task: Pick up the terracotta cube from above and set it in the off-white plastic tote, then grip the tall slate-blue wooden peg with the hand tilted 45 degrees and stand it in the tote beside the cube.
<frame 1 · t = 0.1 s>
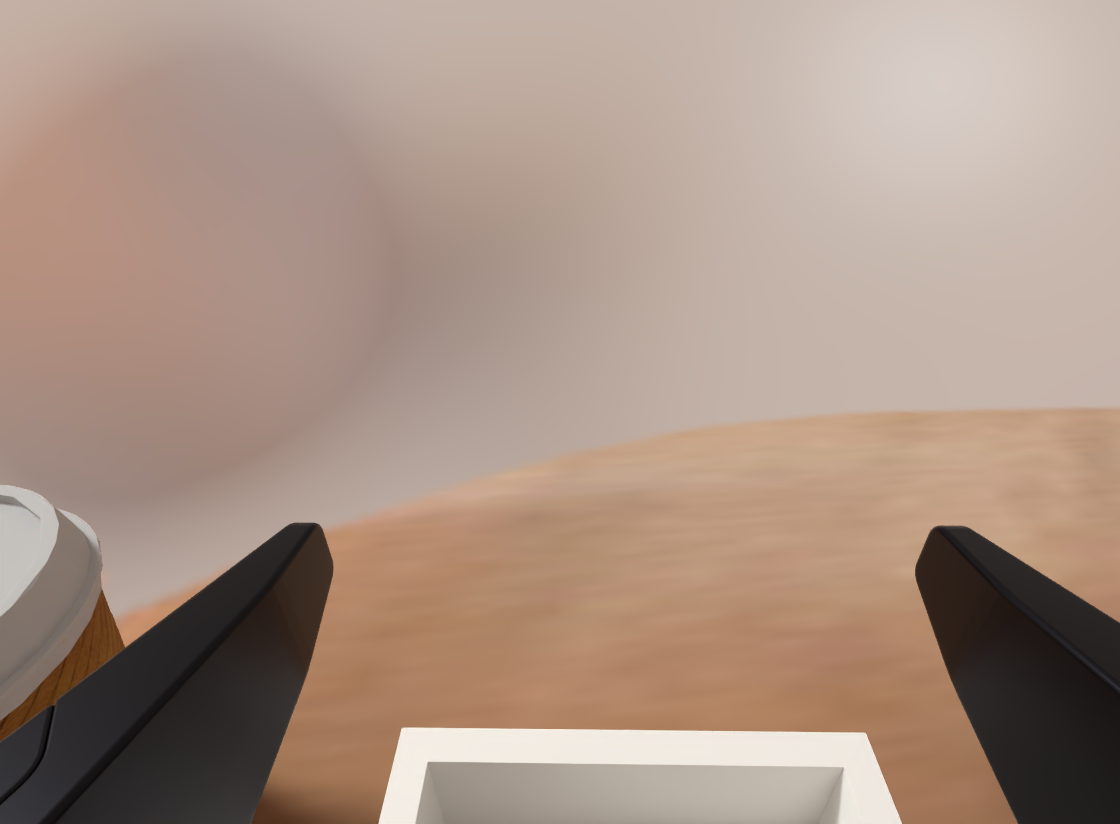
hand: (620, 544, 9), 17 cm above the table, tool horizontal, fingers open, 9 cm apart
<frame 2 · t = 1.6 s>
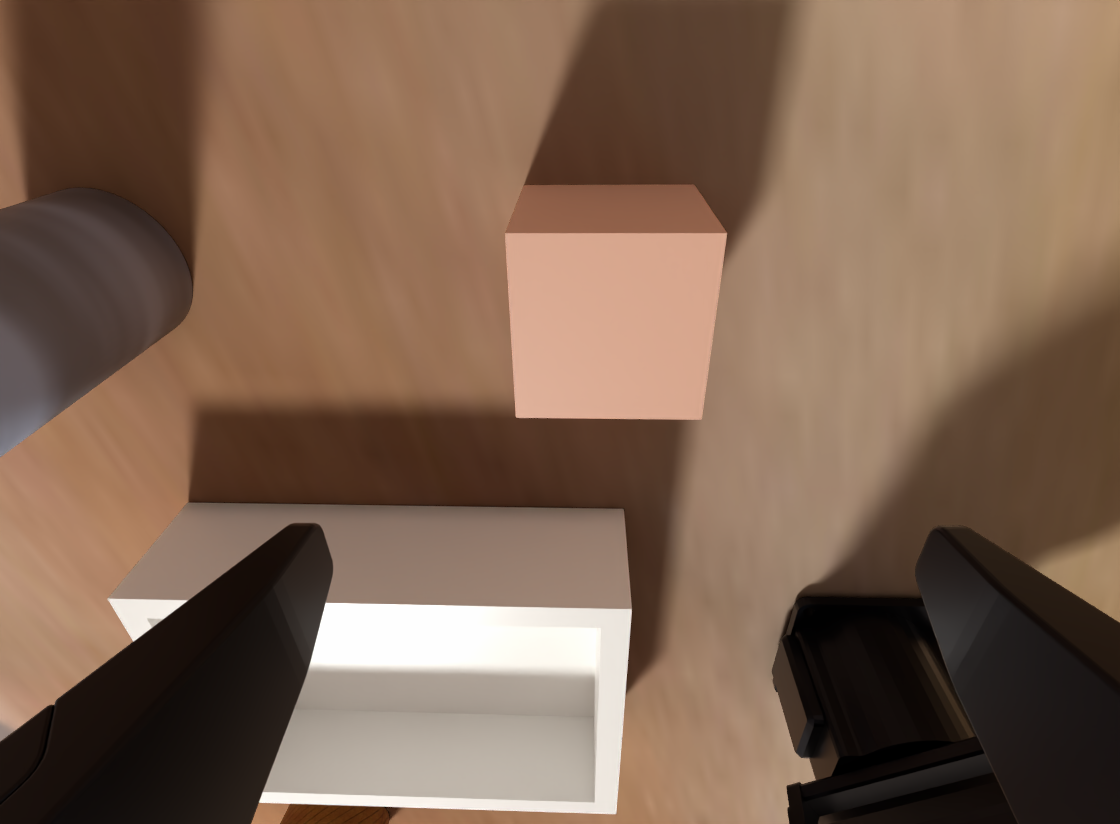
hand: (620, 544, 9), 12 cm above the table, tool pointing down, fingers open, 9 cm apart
slate peg: (113, 267, 20), on the table
tote: (425, 618, 29), on the table
disposable coffee cup: (341, 807, 39), on the table
terracotta cube: (606, 266, 19), on the table
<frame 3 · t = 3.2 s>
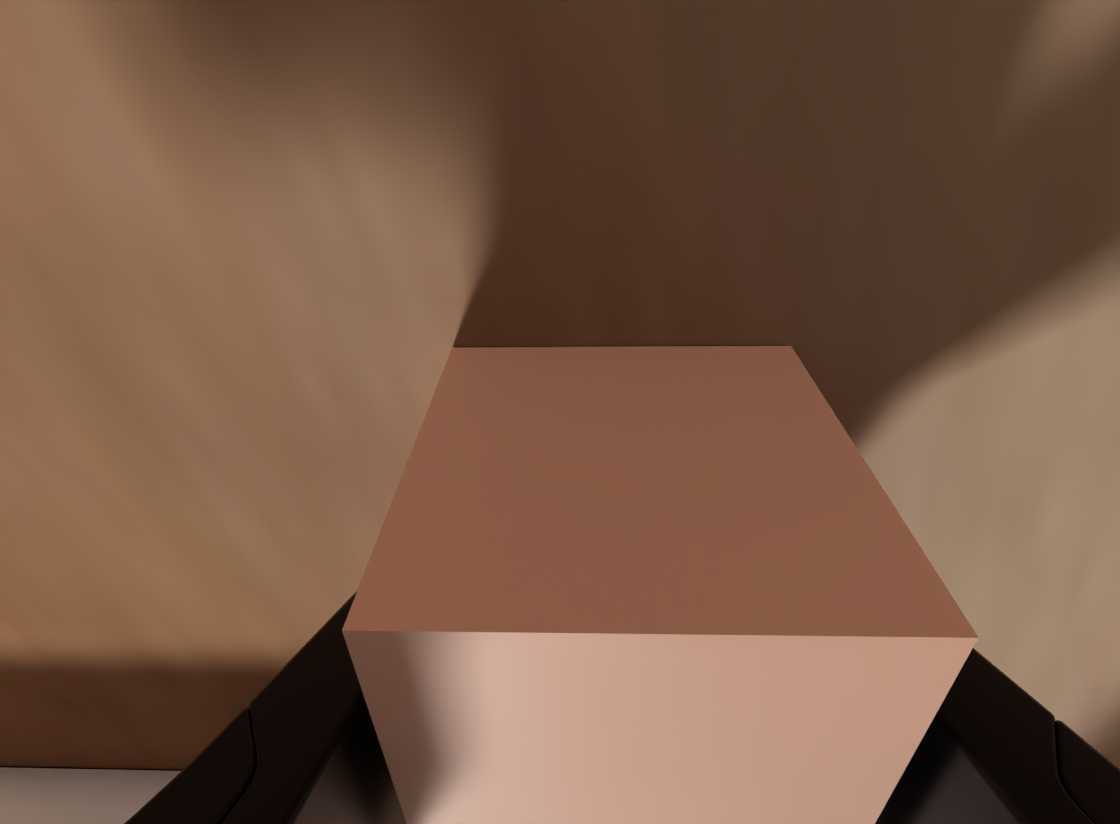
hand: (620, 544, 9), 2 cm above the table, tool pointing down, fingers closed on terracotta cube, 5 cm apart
terracotta cube: (615, 478, 10), on the table, touching gripper
when the fingers open (5 cm above the table, at t = 7.1 s): terracotta cube drops 3 cm, resting on tote.
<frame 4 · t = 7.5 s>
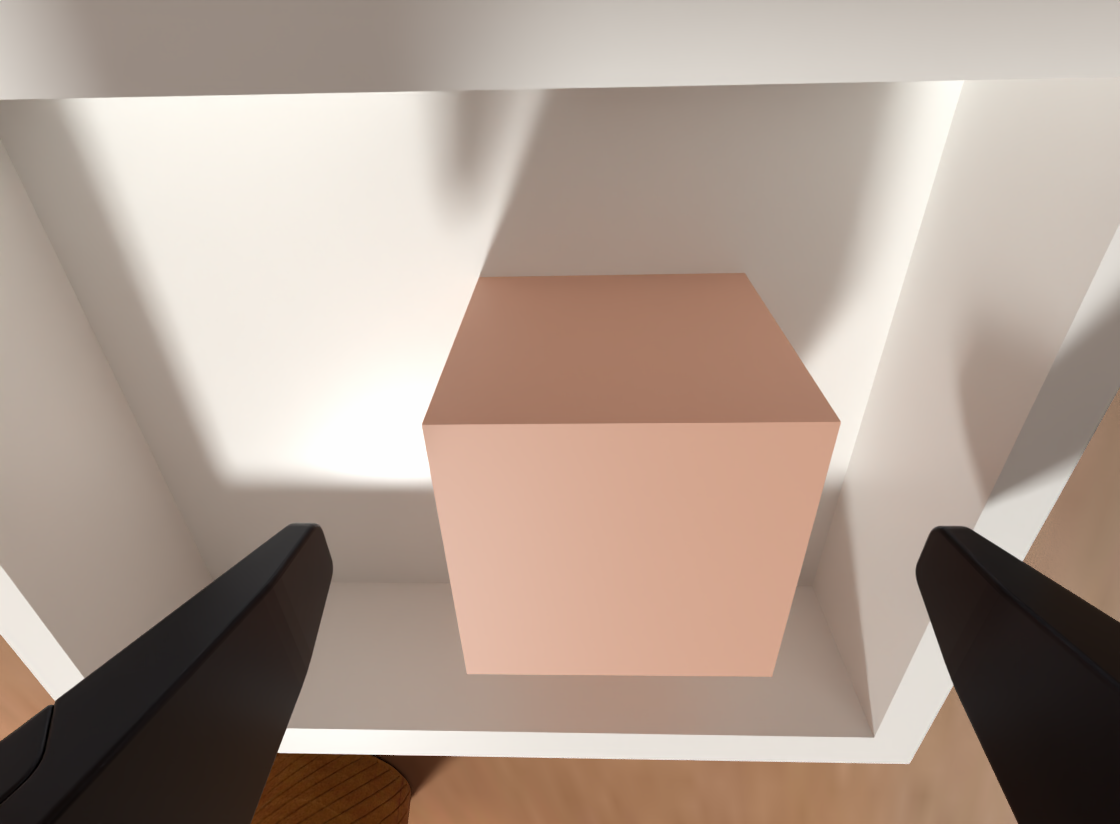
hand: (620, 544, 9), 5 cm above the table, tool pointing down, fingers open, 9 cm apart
tote: (494, 367, 14), on the table
disposable coffee cup: (335, 778, 25), on the table
terracotta cube: (608, 388, 13), point 1 cm above the table, touching tote
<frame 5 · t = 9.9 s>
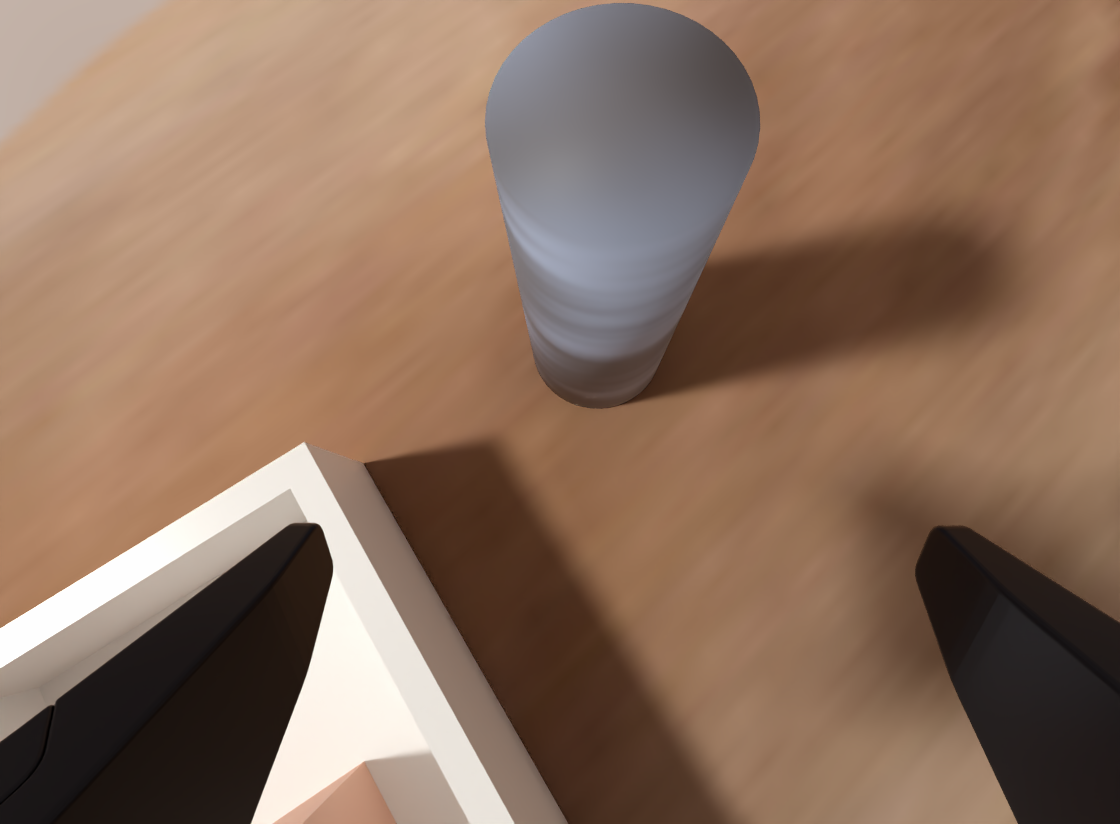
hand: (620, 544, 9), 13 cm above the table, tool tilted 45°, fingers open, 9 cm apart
slate peg: (596, 346, 24), on the table
tote: (310, 792, 21), on the table
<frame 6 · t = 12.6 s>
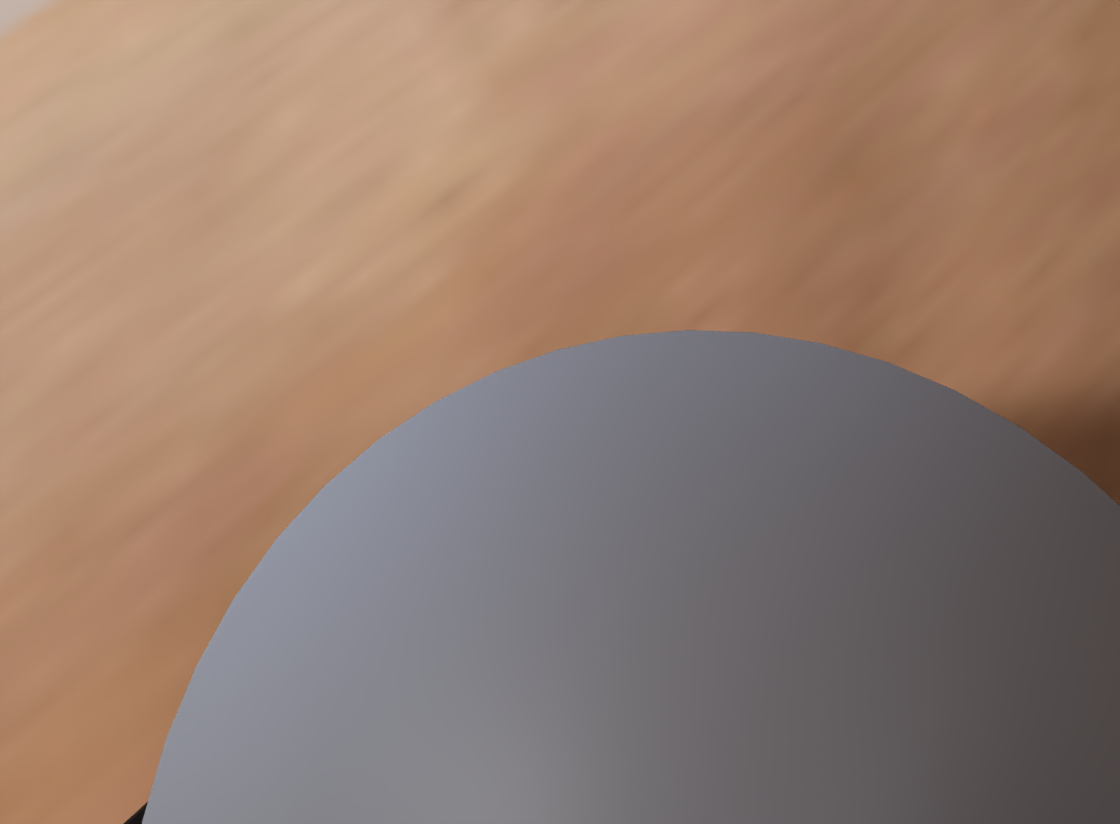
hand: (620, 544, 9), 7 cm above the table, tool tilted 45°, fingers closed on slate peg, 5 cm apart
slate peg: (603, 600, 15), on the table, touching gripper
when the fingers open (9 cm above the table, at t = 16.9 s): slate peg drops 2 cm, resting on tote.
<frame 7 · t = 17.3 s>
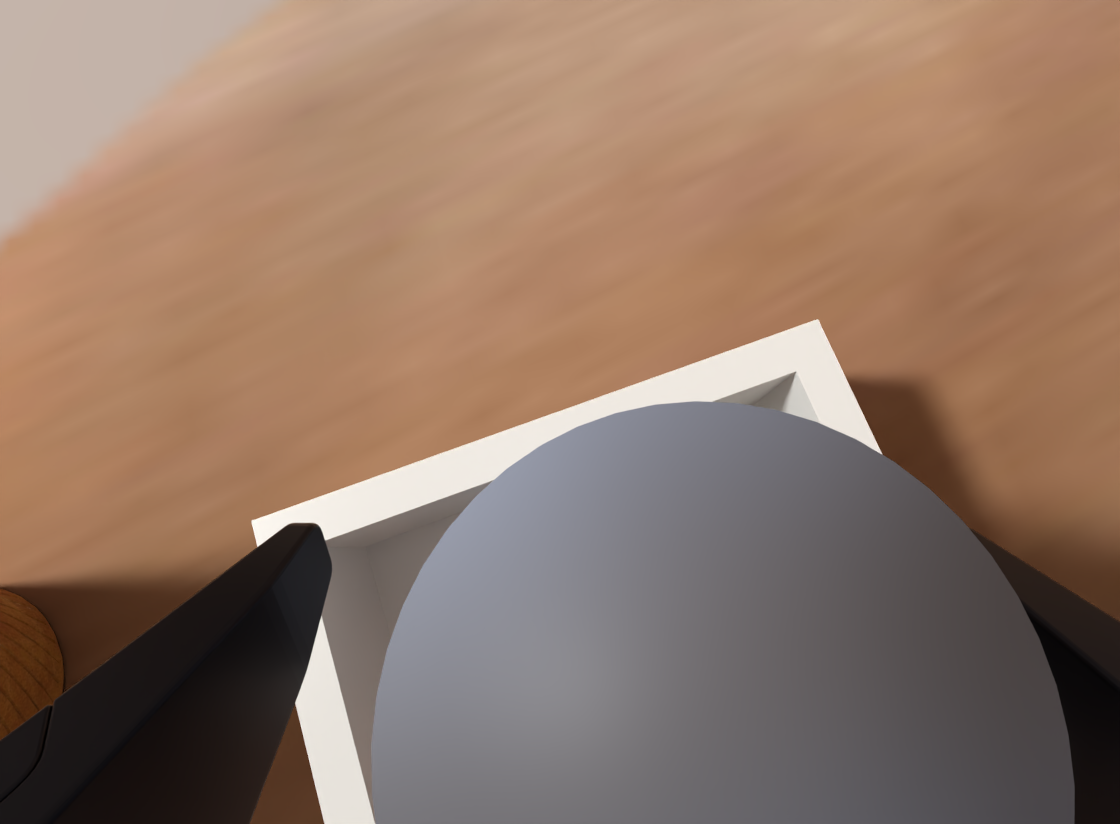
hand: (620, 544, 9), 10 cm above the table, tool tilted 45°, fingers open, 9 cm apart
slate peg: (606, 595, 17), point 1 cm above the table, touching tote
tote: (656, 745, 17), on the table
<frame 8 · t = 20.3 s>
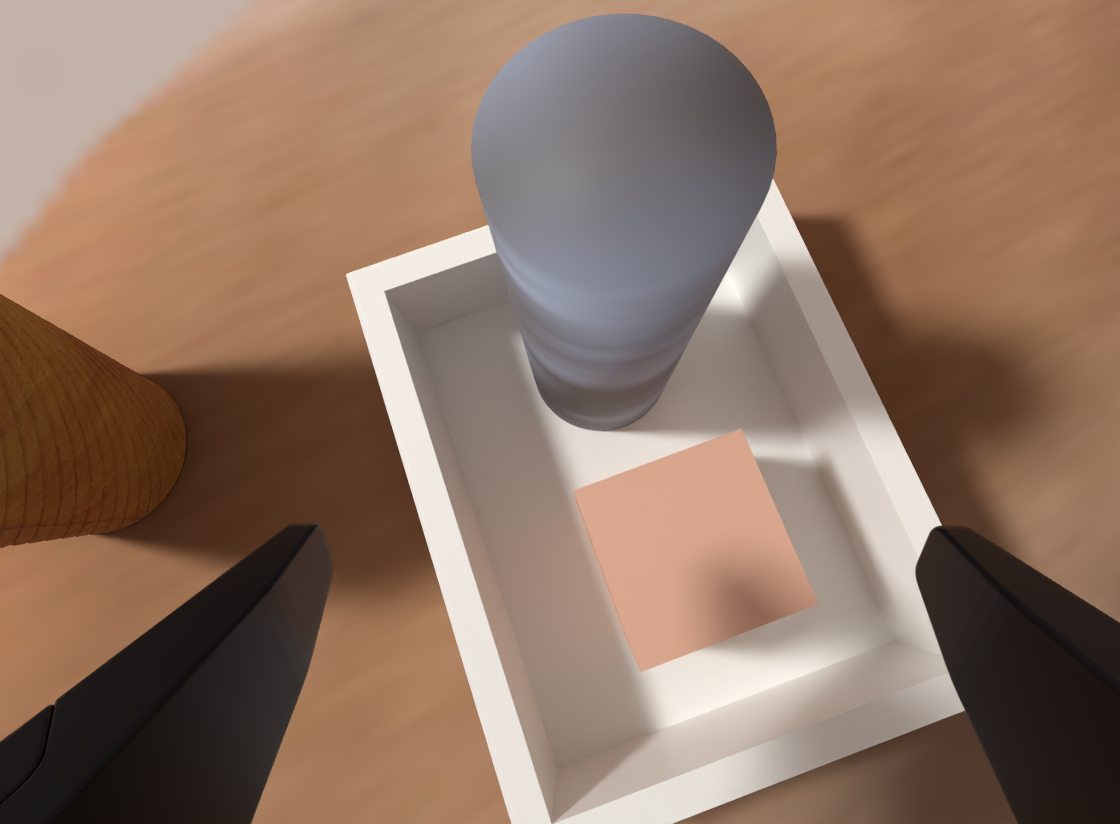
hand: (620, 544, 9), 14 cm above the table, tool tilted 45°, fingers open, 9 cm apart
slate peg: (600, 365, 23), point 1 cm above the table, touching tote
tote: (637, 479, 23), on the table
disposable coffee cup: (112, 452, 24), on the table
terracotta cube: (667, 544, 21), point 1 cm above the table, touching tote
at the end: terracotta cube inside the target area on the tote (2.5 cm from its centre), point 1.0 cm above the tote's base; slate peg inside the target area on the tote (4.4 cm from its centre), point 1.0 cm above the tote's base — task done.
